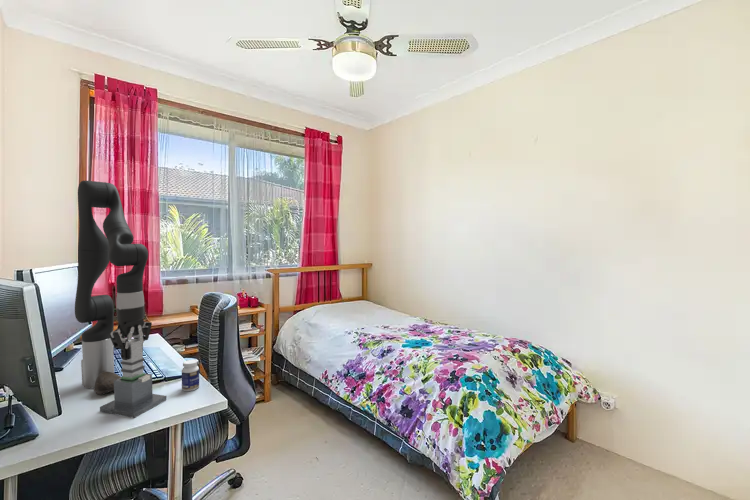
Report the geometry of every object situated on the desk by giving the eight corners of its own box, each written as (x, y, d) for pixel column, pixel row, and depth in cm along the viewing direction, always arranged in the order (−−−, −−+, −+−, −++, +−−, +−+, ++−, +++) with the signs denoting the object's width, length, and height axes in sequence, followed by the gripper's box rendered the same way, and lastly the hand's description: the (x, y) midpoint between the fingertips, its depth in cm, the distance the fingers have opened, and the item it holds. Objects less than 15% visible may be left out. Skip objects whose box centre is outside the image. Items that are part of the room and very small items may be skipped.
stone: (111, 394, 136) (86, 382, 131) (130, 376, 138) (105, 363, 133) (110, 409, 128) (83, 396, 123) (130, 389, 130) (104, 376, 125)
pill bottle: (192, 392, 130) (191, 365, 129) (178, 390, 131) (177, 363, 130) (202, 385, 135) (202, 359, 135) (189, 384, 137) (188, 358, 136)
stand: (99, 411, 116) (98, 380, 115) (133, 395, 128) (132, 366, 127) (134, 417, 112) (133, 385, 112) (166, 400, 124) (165, 370, 123)
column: (121, 388, 118) (119, 342, 117) (134, 382, 122) (132, 338, 121) (132, 389, 117) (131, 343, 116) (145, 383, 121) (143, 339, 120)
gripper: (140, 300, 126) (142, 349, 127) (99, 309, 112) (102, 363, 113) (158, 301, 124) (159, 351, 125) (118, 310, 110) (120, 366, 111)
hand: (132, 356), depth 119 cm, fingers closed on column, 4 cm apart
